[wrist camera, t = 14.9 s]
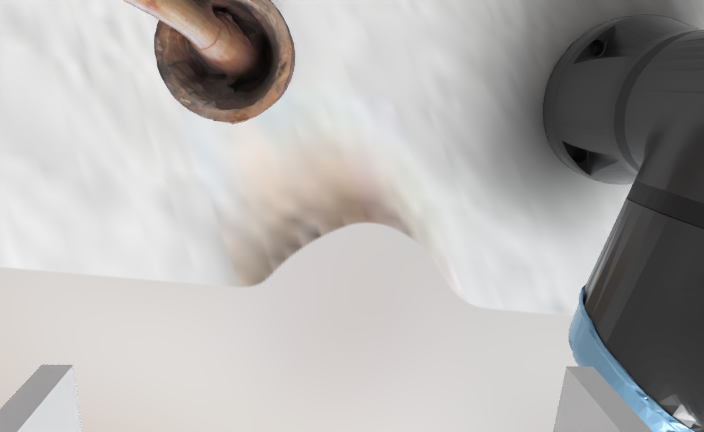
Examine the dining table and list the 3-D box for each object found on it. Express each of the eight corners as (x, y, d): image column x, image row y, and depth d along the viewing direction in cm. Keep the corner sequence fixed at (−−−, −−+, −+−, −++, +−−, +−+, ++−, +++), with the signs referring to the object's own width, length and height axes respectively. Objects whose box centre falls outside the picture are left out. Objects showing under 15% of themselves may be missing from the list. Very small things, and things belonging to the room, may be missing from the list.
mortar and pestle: (155, 67, 42) (21, 66, 23) (188, -31, 40) (71, -120, 21) (277, 122, 44) (247, 162, 25) (315, 32, 42) (312, 2, 23)
